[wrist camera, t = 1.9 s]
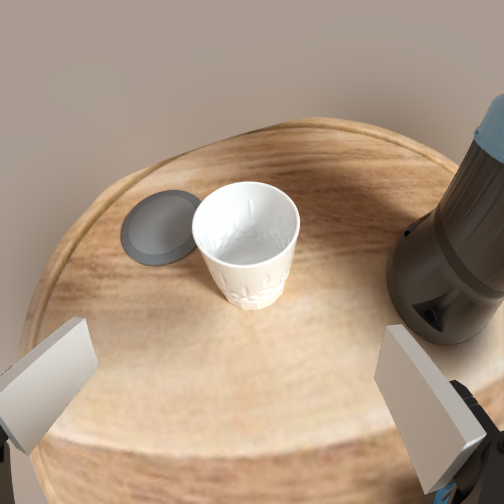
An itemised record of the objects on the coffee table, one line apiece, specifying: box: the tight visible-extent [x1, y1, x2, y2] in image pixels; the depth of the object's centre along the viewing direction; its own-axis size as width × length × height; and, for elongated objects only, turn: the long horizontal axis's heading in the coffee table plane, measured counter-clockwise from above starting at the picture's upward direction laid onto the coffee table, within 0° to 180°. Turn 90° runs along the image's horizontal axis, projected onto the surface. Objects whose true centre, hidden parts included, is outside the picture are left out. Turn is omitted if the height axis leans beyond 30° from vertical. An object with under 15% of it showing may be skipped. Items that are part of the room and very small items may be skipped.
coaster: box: [121, 190, 201, 266], centre depth 33 cm, size 11×11×1 cm
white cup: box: [192, 182, 300, 310], centre depth 25 cm, size 8×8×10 cm
